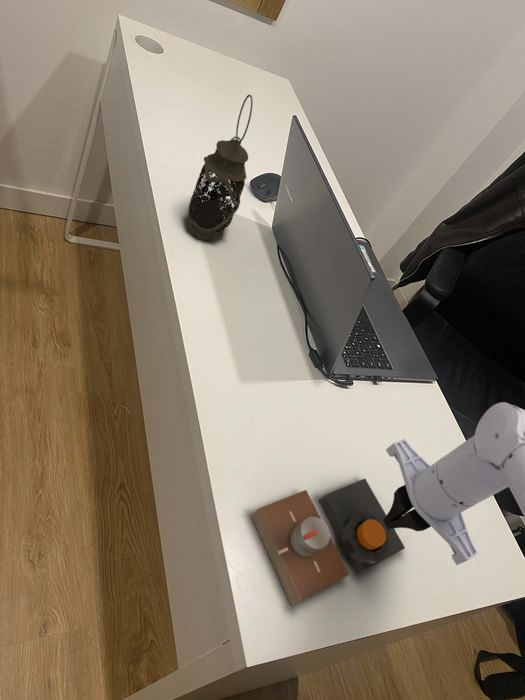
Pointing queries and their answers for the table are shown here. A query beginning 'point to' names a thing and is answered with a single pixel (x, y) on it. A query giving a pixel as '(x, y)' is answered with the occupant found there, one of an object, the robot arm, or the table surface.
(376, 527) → the switch button
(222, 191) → the lantern
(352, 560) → the switch block
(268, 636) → the table surface
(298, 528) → the dial
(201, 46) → the table surface
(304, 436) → the table surface
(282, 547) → the dimmer panel
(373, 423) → the table surface
